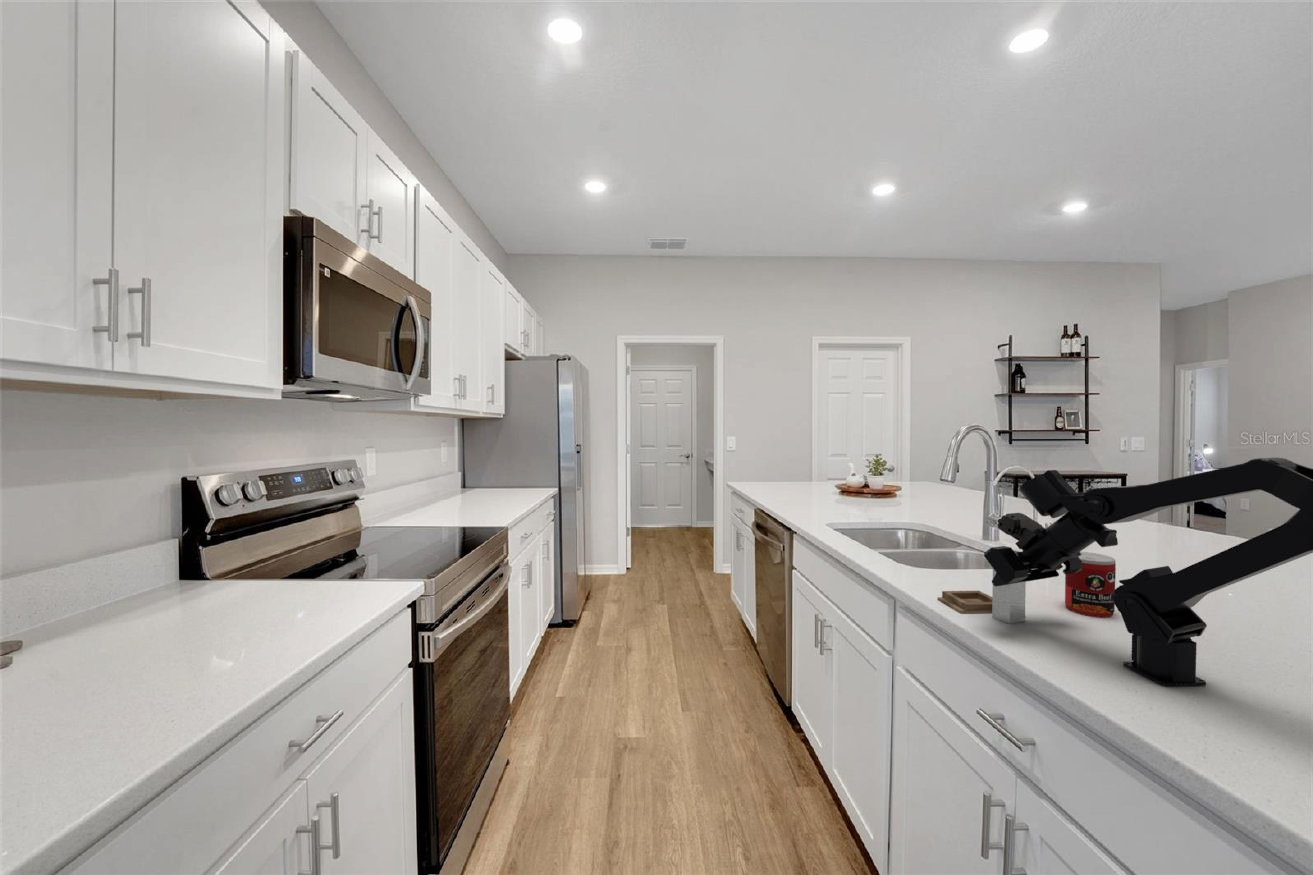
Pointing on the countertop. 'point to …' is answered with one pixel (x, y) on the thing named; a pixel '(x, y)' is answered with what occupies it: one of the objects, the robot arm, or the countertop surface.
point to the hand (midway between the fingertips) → (1001, 582)
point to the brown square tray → (967, 601)
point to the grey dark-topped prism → (1009, 602)
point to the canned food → (1092, 586)
